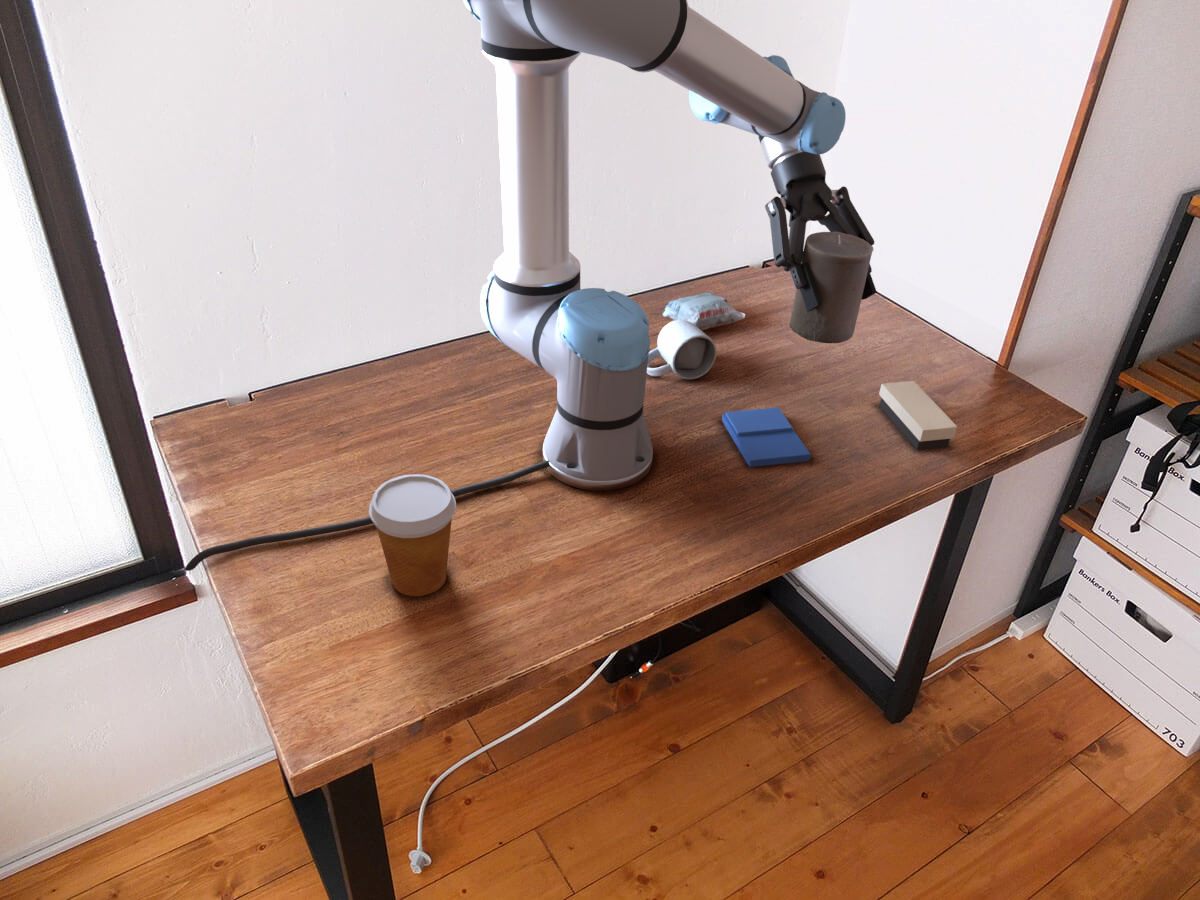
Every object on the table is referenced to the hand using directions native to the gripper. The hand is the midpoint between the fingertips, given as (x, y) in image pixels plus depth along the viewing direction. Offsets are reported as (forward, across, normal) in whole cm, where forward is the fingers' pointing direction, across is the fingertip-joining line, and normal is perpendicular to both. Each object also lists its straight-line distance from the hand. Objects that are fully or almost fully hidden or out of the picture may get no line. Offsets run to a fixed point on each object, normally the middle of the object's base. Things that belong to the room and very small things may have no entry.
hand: (842, 302), depth 139 cm
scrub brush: (+20, -8, -3) cm, 22 cm away
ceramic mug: (0, +16, -24) cm, 29 cm away
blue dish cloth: (+16, +15, -8) cm, 23 cm away
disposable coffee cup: (+21, +70, -4) cm, 73 cm away
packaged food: (-8, +4, -32) cm, 33 cm away
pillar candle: (+2, 0, -6) cm, 7 cm away
